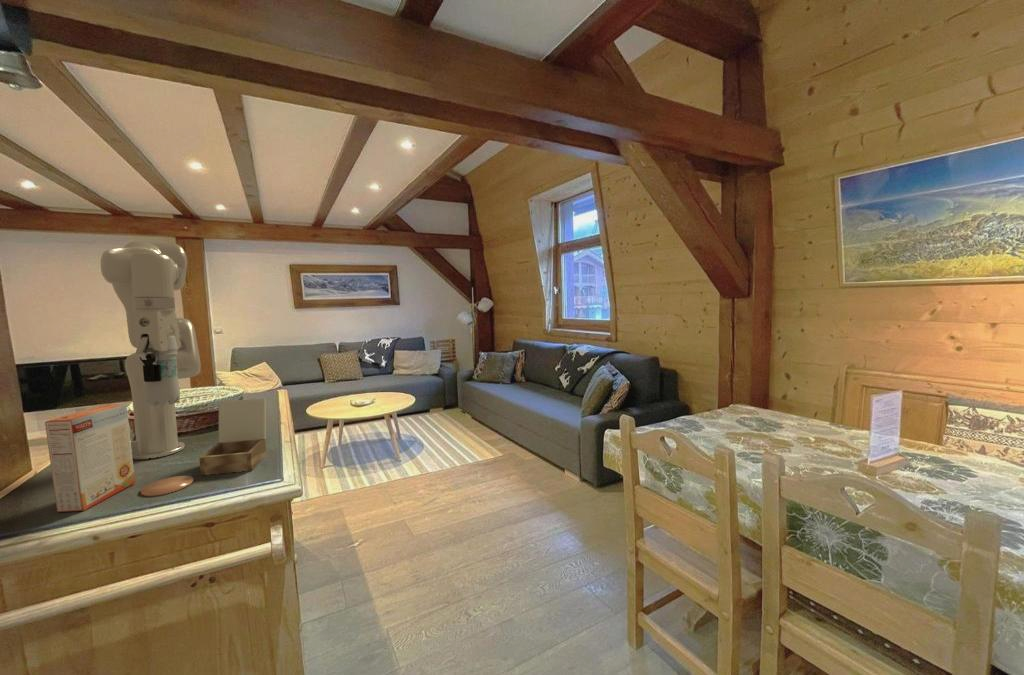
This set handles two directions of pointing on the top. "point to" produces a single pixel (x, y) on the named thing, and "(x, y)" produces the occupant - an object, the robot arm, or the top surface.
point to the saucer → (166, 485)
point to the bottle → (165, 378)
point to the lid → (241, 420)
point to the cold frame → (233, 457)
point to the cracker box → (90, 456)
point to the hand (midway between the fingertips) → (160, 378)
